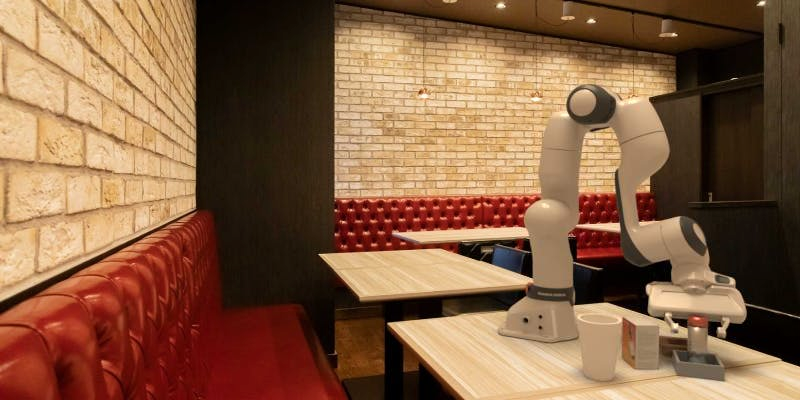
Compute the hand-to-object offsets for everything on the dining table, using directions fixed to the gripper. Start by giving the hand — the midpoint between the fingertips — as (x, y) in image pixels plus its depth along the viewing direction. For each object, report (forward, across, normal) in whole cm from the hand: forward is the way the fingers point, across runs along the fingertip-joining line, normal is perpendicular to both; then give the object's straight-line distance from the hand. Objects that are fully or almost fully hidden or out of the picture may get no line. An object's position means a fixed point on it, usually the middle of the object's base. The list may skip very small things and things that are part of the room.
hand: (697, 334), depth 119 cm
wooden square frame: (-4, -2, +16) cm, 17 cm away
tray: (+6, 0, +7) cm, 9 cm away
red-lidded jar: (+5, 0, +6) cm, 8 cm away
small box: (+5, -12, +8) cm, 15 cm away
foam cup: (+14, -21, -1) cm, 25 cm away
